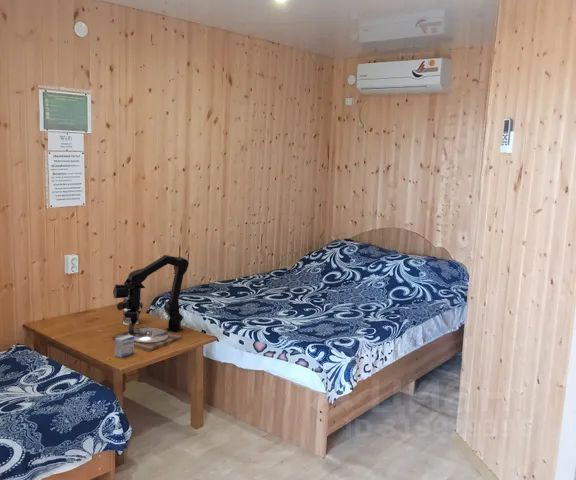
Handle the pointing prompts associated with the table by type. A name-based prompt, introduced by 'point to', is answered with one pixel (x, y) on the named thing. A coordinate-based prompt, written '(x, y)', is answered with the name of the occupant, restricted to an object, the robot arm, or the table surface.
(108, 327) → the table surface
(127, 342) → the medicine box
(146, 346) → the walnut stand
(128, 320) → the decorative candle
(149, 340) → the dial
